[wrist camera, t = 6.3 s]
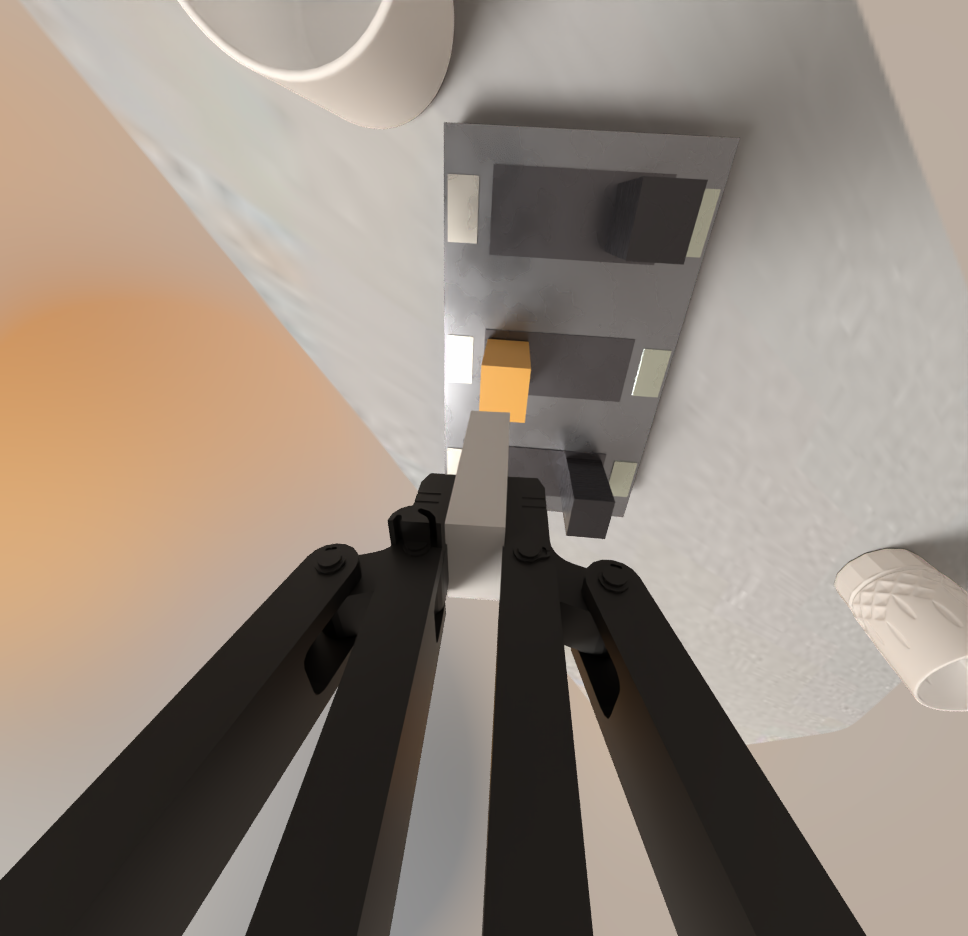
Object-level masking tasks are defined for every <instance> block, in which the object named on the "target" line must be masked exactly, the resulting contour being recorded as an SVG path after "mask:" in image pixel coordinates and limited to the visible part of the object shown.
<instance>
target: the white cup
mask: <svg viewBox="0 0 968 936" xmlns="http://www.w3.org/2000/svg"><path fill="white" fill-rule="evenodd" d="M834 587H835V588H836V590H837V592H838V593H839V595H840V597H841V598H842V599H843V600H844V602H845V603H846V604H847V606H848V607H849V608H850V609H851V611H852V612H853V616H854V617H855V619H856V620H857V621H858V622H859V624H860V625H861V626H862V628H863V630H864V631H865V632H866V634H867V635H868V636H869V638H870V639H871V640H872V641H873V643H874V644H875V646H876V648H877V649H878V650H879V651H880V653H881V654H882V655H883V657H884V658H885V659H886V661H887V662H888V663H889V665H890V666H891V667H892V668H893V670H894V671H895V672H896V674H897V675H898V676H899V678H900V679H901V680H902V682H903V683H904V684H905V686H906V687H907V688H908V689H909V691H910V692H911V693H912V695H913V696H914V698H915V699H916V700H917V701H918V702H919V703H920V704H922V705H924V706H926V707H928V708H931V709H935V710H941V711H953V712H955V711H956V712H959V711H968V592H967V591H965V590H964V589H962V588H961V587H960V586H959V585H958V584H956V583H955V582H954V581H952V580H951V579H950V578H948V577H947V576H945V575H944V574H942V573H940V572H939V571H937V570H936V569H935V568H934V567H932V566H931V565H930V564H929V563H927V562H926V561H925V560H924V559H922V558H921V557H920V556H918V555H916V554H914V553H912V552H910V551H908V550H905V549H882V550H878V551H874V552H870V553H866V554H864V555H862V556H860V557H858V558H856V559H854V560H852V561H851V562H849V563H848V564H847V565H846V566H845V567H844V568H843V569H842V570H841V571H840V572H839V573H838V574H837V576H836V580H835V584H834Z"/></svg>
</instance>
